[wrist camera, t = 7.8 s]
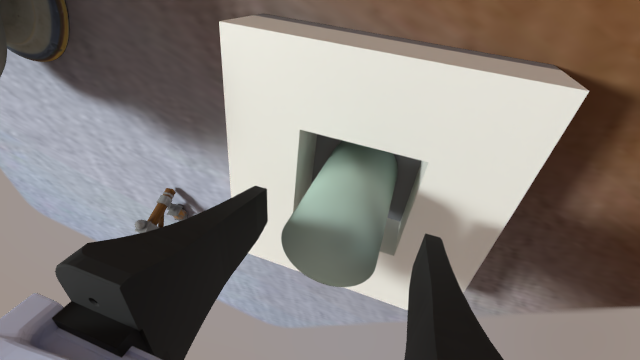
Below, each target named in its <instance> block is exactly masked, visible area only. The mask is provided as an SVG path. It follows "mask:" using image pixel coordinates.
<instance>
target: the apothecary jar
mask: <svg viewBox="0 0 640 360" xmlns="http://www.w3.org/2000/svg"><path fill="white" fill-rule="evenodd" d="M68 37H69V20H68V13H67V8H66V4H65V0H0V77H1V75H2V72H3V70H4V67H5V63H6V58H7V49H9V50H11V51H12V52H14V53H16V54H18V55H19V56H22V57H24V58H27V59H30V60H33V61H40V62H47V61H52V60H55V59H57V58H58V57H60V56H61V55H62V53H63V52H64V51H65V49H66V46H67V43H68Z"/></svg>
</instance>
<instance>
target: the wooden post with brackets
mask: <svg viewBox="0 0 640 360" xmlns="http://www.w3.org/2000/svg"><path fill="white" fill-rule="evenodd" d="M175 193H176V192H175V191H174V190H173V189H169V188H166V190H165V192H164V193H163V195H161V196H160V198H159V199H158V201H157V203H158V204H157V206H156V207H155V209H154V211H153V212H152V214H151V216H150V217H149V219H148V221H145V220H138V221H137V222H136V223H135V227H136V229H135V231H137V232H139V233H144V232H148V231H151V230H154V229H158V228H161V227H163V226H164V212H165V210H166V208H167V207H168V208H167V209H168V210H169V211H168V213H167V215H172V216H173V217H174V218H175V220H180V221H182V220H185V219H187V214H188V213H187V212H186V211H185V210H183V209H182V207H183V206H182V205H177V204H172V203H171V202H172V198H173V197H174V194H175ZM157 224H158V227H157Z"/></svg>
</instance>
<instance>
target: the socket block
mask: <svg viewBox="0 0 640 360" xmlns="http://www.w3.org/2000/svg"><path fill="white" fill-rule="evenodd" d="M219 28H220V43H221V57H222V72H223V86H224V100H225V115H226V129H227V144H228V158H229V173H230V187H231V198H232V197H234V196H236V195H238V194H240V193H242V192H244V191H246V190H247V189H249V188H251V187H253V186H259V187H262V188H266V189H267V213H268V222H267V224H266V226H265V228H264V230H263V232H262V233H261V235H260V237H259V239H258V240H257V242H256V243H255V244H254V246H253V247H252V248H251V250H250V251H249V252H248V253H249V254H252V255H254V256H257V257H260V258H263V259H266V260H268V261H271V262H274V263H277V264H280V265H282V266H285V267H288V268H291V269H293V270H296V271H299V270H298V269H297V268H296V267H295V266H294V265H293V264H292V263H291V262H290V260H289V259H288V258H287V256H286V254H285V252H284V250H283V247H282V242H281V235H282V230H283V228H284V226H285V224H286V223H287V221H288V220H289V218H290V217H291V215H292V214H293V212H294V211H295V209H296V207H297V206H298V204H299V203H300V201H301V200H302V198H303V197H304V195H305V194H306V192H307V191H308V189H309V187H310V186H311V184H312V183H313V181H314V180H315V178H316V177H317V175H318V174H319V172H320V171H321V169H322V167H323V166H324V164H325V163H326V161H327V160H328V158H329V157H330V155H331V154H332V152H333V151H334V149H335V148H336V147H337V146H338V144H340V143H341V142H342V141H347V142H351V143H355V144H359V145H363V146H366V147H370V148H374V149H378V150H382V151H386V152H390V153H393V155H394V156H395V159H396V161H397V165H398V174H397V179H396V183H395V188H394V192H393V196H392V200H391V205H390V209H389V213H388V217H387V222H386V226H385V230H384V234H383V239H382V243H381V247H380V251H379V256H378V260H377V264H376V268H375V271H374V273H373V274H372V276H371V277H370V278H369V279H368V280H366V281H365V282H363V283H361V284H359V285H356V286H351V287H344V288H347V289H349V290H352V291H355V292H358V293H361V294H363V295H366V296H369V297H372V298H375V299H377V300H380V301H383V302H386V303H389V304H391V305H394V306H397V307H400V308H403V309H405V310H408V298H409V285H410V279H411V273H412V267H413V264H414V262H415V259H416V256H417V254H418V251H419V248H420V246H421V243H422V241H423V238H424V235H425V233H426V234H430V235H433V236H437V237H440V238H441V239H442V241H443V244H444V247H445V251H446V254H447V256H448V259H449V262H450V265H451V267H452V270H453V272H454V274H455V277H456V279H457V281H458V284H459V286H460V288H461V290H462V292H463V293H464V291H465V290H466V288H467V286H468V285H469V283H470V282H471V280H472V278H473V277H474V275H475V274H476V272H477V270H478V269H479V267H480V266H481V264H482V262H483V261H484V259H485V258H486V256H487V254H488V253H489V251H490V250H491V248H492V246H493V245H494V243H495V242H496V240H497V238H498V237H499V235H500V234H501V232H502V230H503V229H504V227H505V226H506V224H507V222H508V221H509V219H510V218H511V216H512V214H513V213H514V211H515V210H516V208H517V206H518V205H519V203H520V202H521V200H522V198H523V197H524V195H525V194H526V192H527V190H528V189H529V187H530V186H531V184H532V182H533V181H534V179H535V178H536V176H537V174H538V173H539V171H540V170H541V168H542V166H543V165H544V163H545V162H546V160H547V158H548V157H549V155H550V154H551V152H552V150H553V149H554V147H555V146H556V144H557V142H558V141H559V139H560V138H561V136H562V134H563V133H564V131H565V130H566V128H567V126H568V125H569V123H570V122H571V120H572V118H573V117H574V115H575V114H576V112H577V110H578V109H579V107H580V106H581V104H582V102H583V101H584V99H585V98H586V96H587V94H588V93H589V90H587V89H586V88H585V87H583V86H582V85H580V84H579V83H578V82H576V81H575V80H574V79H572V78H571V77H570V76H568V75H567V74H566V73H564V72H563V71H562V70H560V69H559V68H558V67H556V66H555V65H551V64H545V63H539V62H534V61H528V60H522V59H517V58H511V57H505V56H500V55H494V54H488V53H483V52H477V51H471V50H466V49H460V48H455V47H449V46H443V45H438V44H432V43H426V42H421V41H415V40H409V39H404V38H398V37H392V36H387V35H381V34H375V33H370V32H364V31H358V30H353V29H347V28H341V27H336V26H330V25H325V24H319V23H313V22H308V21H302V20H296V19H291V18H285V17H279V16H274V15H268V14H258V15H252V16H247V17H241V18H235V19H229V20H223V21H219ZM299 272H300V271H299Z"/></svg>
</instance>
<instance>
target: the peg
mask: <svg viewBox="0 0 640 360" xmlns="http://www.w3.org/2000/svg"><path fill="white" fill-rule="evenodd" d="M397 174H398V165H397V161H396V159H395V156H394V155H393V153H390V152H386V151H382V150H378V149H374V148H370V147H366V146H363V145H359V144H355V143H351V142H347V141H342V142H341V143H340V144H338V146H337V147H336V148H335V149H334V151H333V152H332V154H331V155H330V157H329V158H328V160H327V161H326V163H325V164H324V166H323V167H322V169H321V171H320V172H319V174H318V175H317V177H316V178H315V180H314V181H313V183H312V184H311V186H310V187H309V189H308V191H307V192H306V194H305V195H304V197H303V198H302V200H301V201H300V203H299V204H298V206H297V207H296V209H295V211H294V212H293V214H292V215H291V217H290V218H289V220H288V221H287V223H286V224H285V226H284V228H283V230H282V235H281V242H282V247H283V250H284V252H285V254H286V256H287V258H288V259H289V260H290V262H291V263H292V264H293V265H294V266H295V267H296V268H297V269H298V270H299V271H300V272H302V273H303V274H304V275H306V276H307V277H309V278H311V279H313V280H315V281H317V282H320V283H322V284H326V285H329V286H335V287H351V286H356V285H359V284H361V283H363V282H365V281H366V280H368V279H369V278H370V277H371V276H372V274H373V273H374V271H375V268H376V264H377V260H378V256H379V251H380V247H381V243H382V239H383V234H384V230H385V226H386V222H387V217H388V213H389V209H390V205H391V200H392V196H393V192H394V188H395V183H396V179H397Z"/></svg>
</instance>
